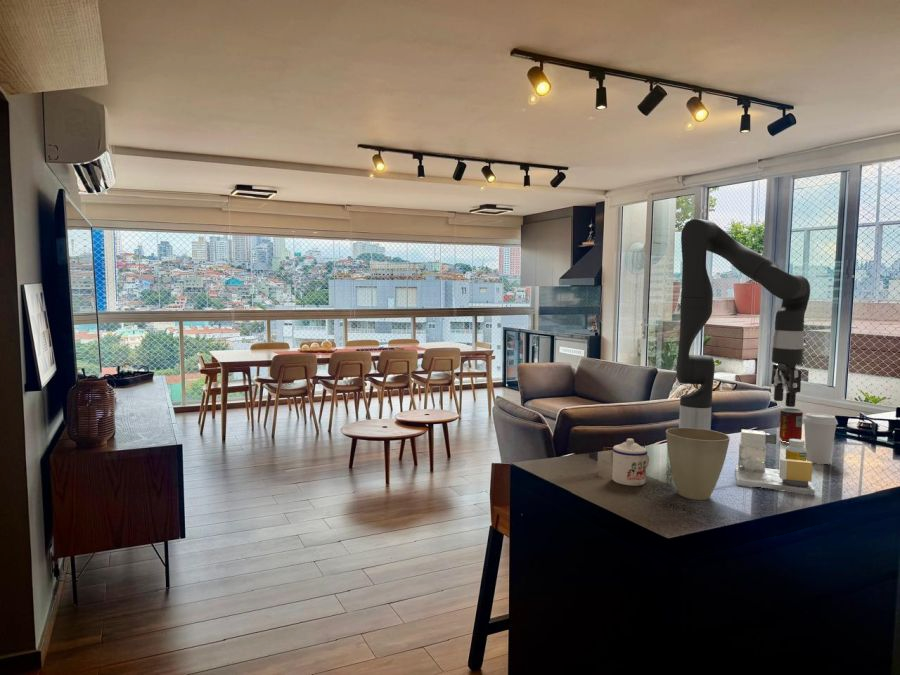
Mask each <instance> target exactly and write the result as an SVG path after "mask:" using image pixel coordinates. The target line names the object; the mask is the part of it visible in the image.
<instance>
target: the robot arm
mask: <svg viewBox="0 0 900 675" xmlns="http://www.w3.org/2000/svg"><path fill="white" fill-rule="evenodd" d="M680 243H681V244H680V245H681V257H682V260H681V262H682V265H681V266H682V269H681V270H682V271H681V272H682V273H681V292H680V293H681V294H680V308H679V310H680V316H679V317H680V318H679V320H680V321H679V340H678V349H677V357H676V369H675V370H676V372H675V374H676V380H677V382H678V383H680V384H684V385H699V386H700V387H699V388H698V389H696V390H695V391H693V392H690V393H686V394H682V395H681V396H680V399H679V416H678V417H679V421H678V422H679V423H678V428H698V429H706V430H712V429H711V426H712V405H713V391H714V390H713V388H714V380H715V379H714V378H715V366H716V365H715V360H714V358H713V357H712V356H711V355H704V354H703V355H701V354H699V355H698V354H690V353H691V352H690V351H691V347H692V345H693V343H694V341H695V339H696V337H697V336H698V334H699V333H700V331H701V330H702V329H703V328H704V326H705V325H706V324H707V323H708V322H709V320H710V318H711V316H712V313H713V301H714V298H713V296H714V292H713V291H714V290H713V286H712V284H711V280H710V277H709V274H708V270H707V264H706V263H707V261H706V260H707V251H708V252H710V253H712V254H715V255H718V256H720V257H721V258H723V259H725V260H726V261H728V262H729V263H730V264H731V265H732V266H733V267H734V268H735V269H736V270H737V271H739V272H740V273H741V274H743V275H745V276H746V277H747V278H750V279H751V280H753V281H755V282H756V283H758V284H760V285H761V286H762V287H763V288H764V289H765V290H767V291H768V292H769V293H770V294H771V295H773V296H774V297H777V298H778V299H780V300H782V301H781V305H780V306H781V307H780V309H778V310H777V312H776V313H775V321H774V332H773V337H772V348H771V349H772V350H771V362H772V363H773V364H772V366H771V367H772V369H771V380H770V382H771V383H770V384H771V385H773V388H774V391H773V400H774V401H775V402H782V401H783V400H784V391H786V393H785V403H784V404H785V406H786V408H793V407H794V408H795V407H796V397H797V394H798V393H800V392H801V386H802V385H801V384H802V370H800V369H796V366H797V365H798V366H799V365H802V364H803V359H804V358H803V356H804V347H805V346H804V343H805V338H804V336H805V335H804V329H805V314H806V311H807V308H808V303H809V300H810V297H811V296H810V295H811V285H810V283H809V282H810V281H809V280H808V279H807V278H806V277H804V276H803V275H800V274H791V273H789V272H787V271H785V270H783V269H781V268H780V266H779V264H777V263H776V262H774V261H773V260H771V259H769V258H768V257H766V256H764V255H762V254H761V253H759V252H757V251H755V250H754V249H751V248H750V247H748V246H746V245H744V244H742V243H741V242H739V241H738V240H736V239H735V238H733V237H732V235H730V234H728V233H727V232H726V231H725V230H724V229H722V228H721V227H720V226H719V225H717V224H716V223H715V222H714V221H712V220H707V219H702V218H691V219H690V220H689V221H687V222H686V223H685V224H684V226H683V227H682V230H681V233H680ZM784 387H785V390H784Z"/></svg>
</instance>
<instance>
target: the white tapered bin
mask: <svg viewBox="0 0 900 675" xmlns="http://www.w3.org/2000/svg"><path fill="white" fill-rule="evenodd" d="M802 422H803V426H804V427H803V428H804V441H805V445H804V446H805V447H804V448H805V449H806V450H807V457H806V460H807V461H810V462H812V464H814V463H818V464H817V465H821V464H828V465H830V464H831V459H832V453H833V448H834V447H833V446H834V440H835V435H836V434H835V433H836V428H837V425H839V423H838V420H837V418H836V416H834V415H831V414H825V413H824V414H823V413H817V412H814V413H813V412H806V414H805V416H803V417H802Z"/></svg>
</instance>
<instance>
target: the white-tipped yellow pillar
mask: <svg viewBox="0 0 900 675" xmlns="http://www.w3.org/2000/svg"><path fill="white" fill-rule="evenodd" d="M779 470H780V474H779V477H780V478H781V479H782V482H783V483H786V484H789V485H793V486H808V482H811V483H812V478H813V477H812V475H813V463H812V462H810V461H801V460H790V459H786V458H780V459H779Z"/></svg>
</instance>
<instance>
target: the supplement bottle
mask: <svg viewBox="0 0 900 675" xmlns="http://www.w3.org/2000/svg"><path fill="white" fill-rule="evenodd" d="M804 446H805V439H804V440H803V439H801V440H799V439H789V443H788V445H787V446H786V448H785V459H790V460H801V461H806V457H807V450H806V449H805V447H804Z"/></svg>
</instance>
